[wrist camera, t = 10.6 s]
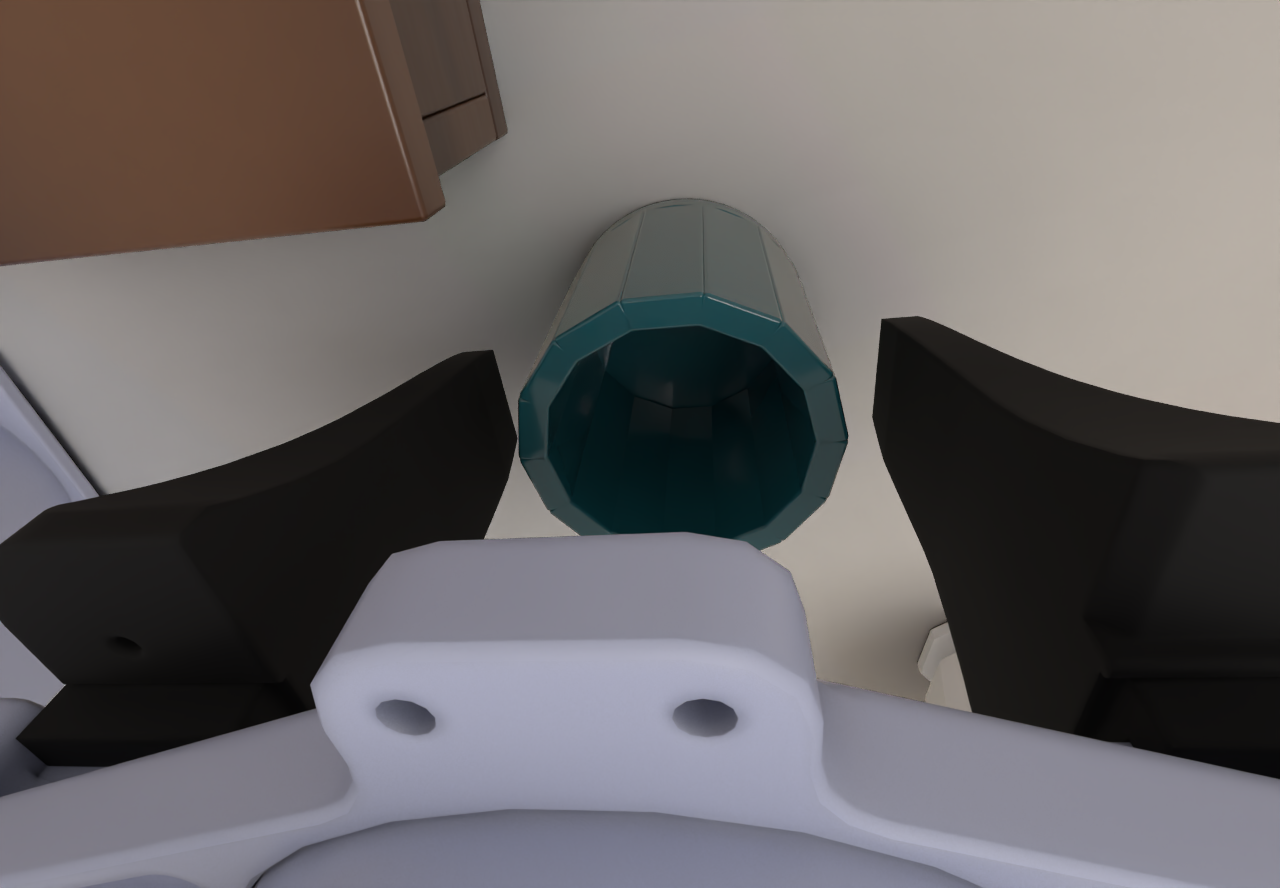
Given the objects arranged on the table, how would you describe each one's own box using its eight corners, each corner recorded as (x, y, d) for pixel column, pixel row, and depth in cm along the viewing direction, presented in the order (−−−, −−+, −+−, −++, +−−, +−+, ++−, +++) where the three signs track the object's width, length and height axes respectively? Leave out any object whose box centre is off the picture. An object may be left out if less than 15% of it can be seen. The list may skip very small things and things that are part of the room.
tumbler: (800, 404, 16) (840, 562, 11) (591, 417, 17) (550, 571, 12) (804, 184, 13) (860, 278, 8) (551, 211, 14) (477, 312, 9)
